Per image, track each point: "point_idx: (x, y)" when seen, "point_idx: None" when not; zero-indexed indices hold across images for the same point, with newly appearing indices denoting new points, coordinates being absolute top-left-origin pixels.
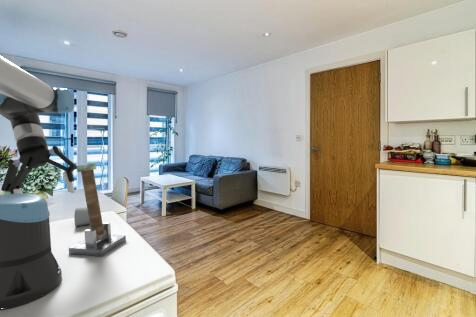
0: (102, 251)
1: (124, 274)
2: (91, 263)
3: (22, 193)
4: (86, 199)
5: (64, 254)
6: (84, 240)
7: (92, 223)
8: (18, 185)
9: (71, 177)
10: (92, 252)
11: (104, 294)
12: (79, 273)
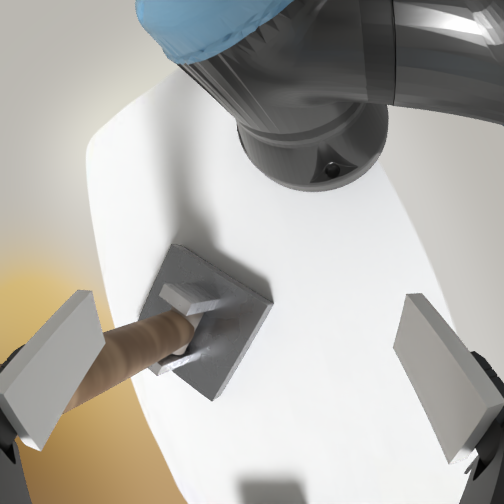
0: (173, 247)
1: (137, 144)
2: (199, 211)
3: (440, 439)
4: (101, 352)
5: (287, 305)
6: (233, 353)
7: (159, 320)
8: (480, 477)
9: (12, 358)
10: (199, 260)
11: (165, 87)
12: (216, 165)
